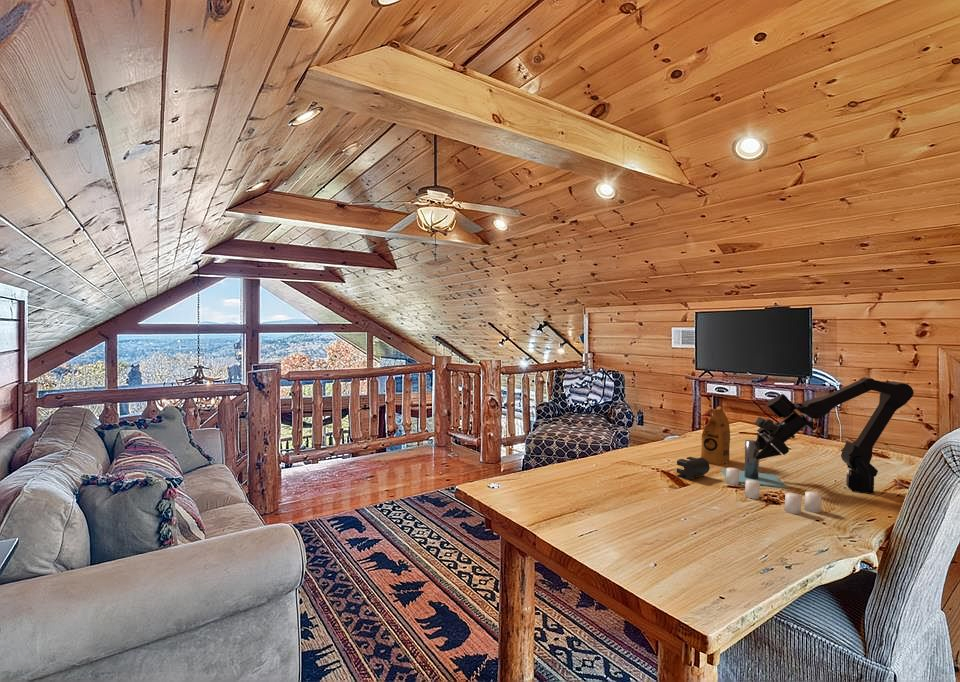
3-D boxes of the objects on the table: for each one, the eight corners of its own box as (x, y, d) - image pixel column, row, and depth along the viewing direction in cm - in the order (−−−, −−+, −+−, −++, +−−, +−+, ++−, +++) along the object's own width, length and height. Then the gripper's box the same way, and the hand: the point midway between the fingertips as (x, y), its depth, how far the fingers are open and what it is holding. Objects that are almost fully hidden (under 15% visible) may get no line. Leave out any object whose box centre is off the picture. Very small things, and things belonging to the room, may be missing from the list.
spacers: (750, 480, 167) (750, 466, 167) (824, 512, 139) (824, 495, 139) (715, 482, 165) (716, 468, 164) (783, 515, 136) (784, 498, 136)
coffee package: (696, 461, 190) (698, 407, 190) (708, 455, 199) (709, 404, 198) (722, 466, 183) (724, 411, 182) (733, 460, 192) (735, 407, 191)
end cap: (693, 482, 164) (694, 463, 164) (675, 476, 170) (676, 458, 170) (709, 477, 170) (710, 459, 170) (691, 472, 176) (692, 454, 176)
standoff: (760, 477, 169) (761, 441, 168) (755, 479, 166) (756, 443, 166) (747, 474, 172) (748, 439, 172) (742, 476, 170) (743, 440, 169)
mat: (774, 475, 173) (774, 474, 173) (786, 488, 160) (786, 486, 160) (720, 470, 178) (721, 468, 178) (728, 481, 165) (728, 480, 165)
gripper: (764, 406, 175) (730, 432, 179) (778, 414, 158) (741, 444, 161) (787, 428, 173) (753, 455, 177) (805, 440, 155) (766, 469, 159)
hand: (752, 455), depth 169 cm, fingers open, 9 cm apart
